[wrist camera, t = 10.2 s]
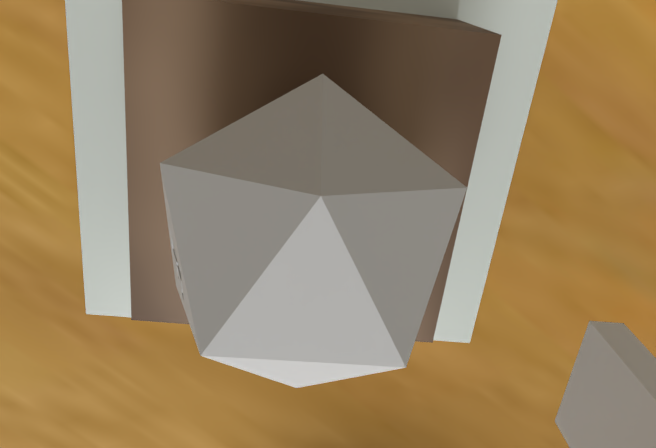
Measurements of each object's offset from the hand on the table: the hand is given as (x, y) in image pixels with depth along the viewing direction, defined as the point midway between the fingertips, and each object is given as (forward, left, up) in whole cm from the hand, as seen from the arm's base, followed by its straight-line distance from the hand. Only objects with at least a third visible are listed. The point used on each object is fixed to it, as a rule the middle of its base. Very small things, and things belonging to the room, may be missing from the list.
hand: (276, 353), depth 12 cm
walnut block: (0, 0, -15) cm, 15 cm away
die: (+1, 0, -10) cm, 10 cm away
